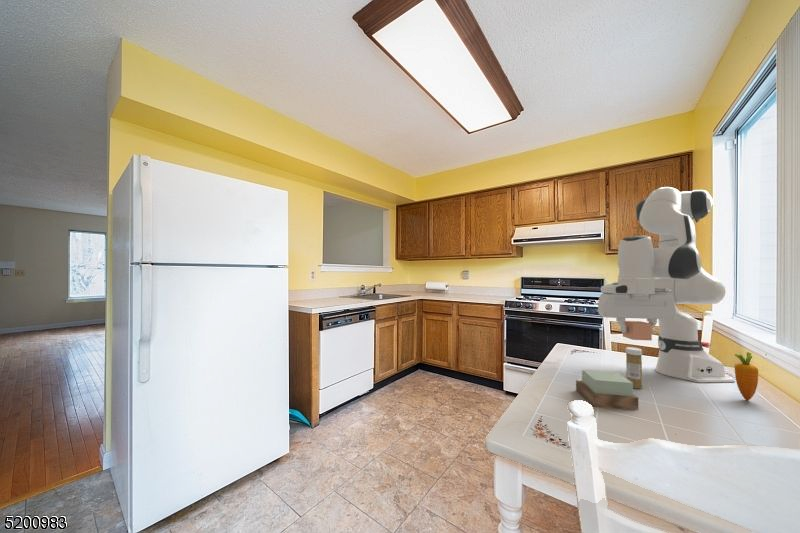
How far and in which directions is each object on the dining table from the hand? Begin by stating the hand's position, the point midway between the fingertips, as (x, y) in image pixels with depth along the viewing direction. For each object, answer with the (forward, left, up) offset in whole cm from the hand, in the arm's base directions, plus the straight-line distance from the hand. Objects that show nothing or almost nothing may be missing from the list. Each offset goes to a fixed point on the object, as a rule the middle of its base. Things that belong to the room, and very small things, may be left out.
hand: (636, 333), depth 89 cm
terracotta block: (0, 0, -2) cm, 2 cm away
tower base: (+8, -2, -22) cm, 24 cm away
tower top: (+8, -2, -18) cm, 20 cm away
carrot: (-36, -8, -22) cm, 43 cm away
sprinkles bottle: (-8, -15, -22) cm, 28 cm away
